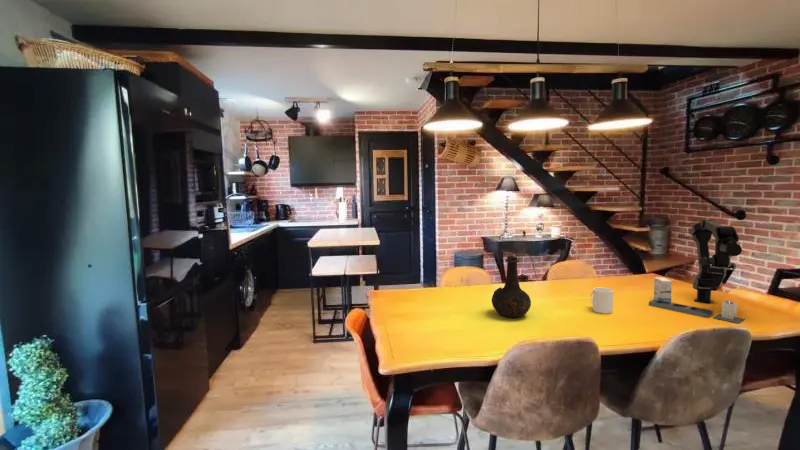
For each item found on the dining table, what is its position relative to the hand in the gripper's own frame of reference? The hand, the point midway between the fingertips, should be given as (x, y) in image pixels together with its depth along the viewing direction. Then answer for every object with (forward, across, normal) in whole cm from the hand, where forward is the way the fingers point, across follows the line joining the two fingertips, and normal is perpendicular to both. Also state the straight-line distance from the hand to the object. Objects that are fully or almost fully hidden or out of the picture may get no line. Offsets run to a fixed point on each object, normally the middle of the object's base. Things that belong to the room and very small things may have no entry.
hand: (720, 285), depth 180 cm
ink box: (+13, +2, -23) cm, 26 cm away
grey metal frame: (+12, +12, -12) cm, 21 cm away
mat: (+12, +10, +6) cm, 17 cm away
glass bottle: (+13, +81, -57) cm, 100 cm away
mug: (+13, +42, -35) cm, 56 cm away
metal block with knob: (+12, +10, +6) cm, 17 cm away
